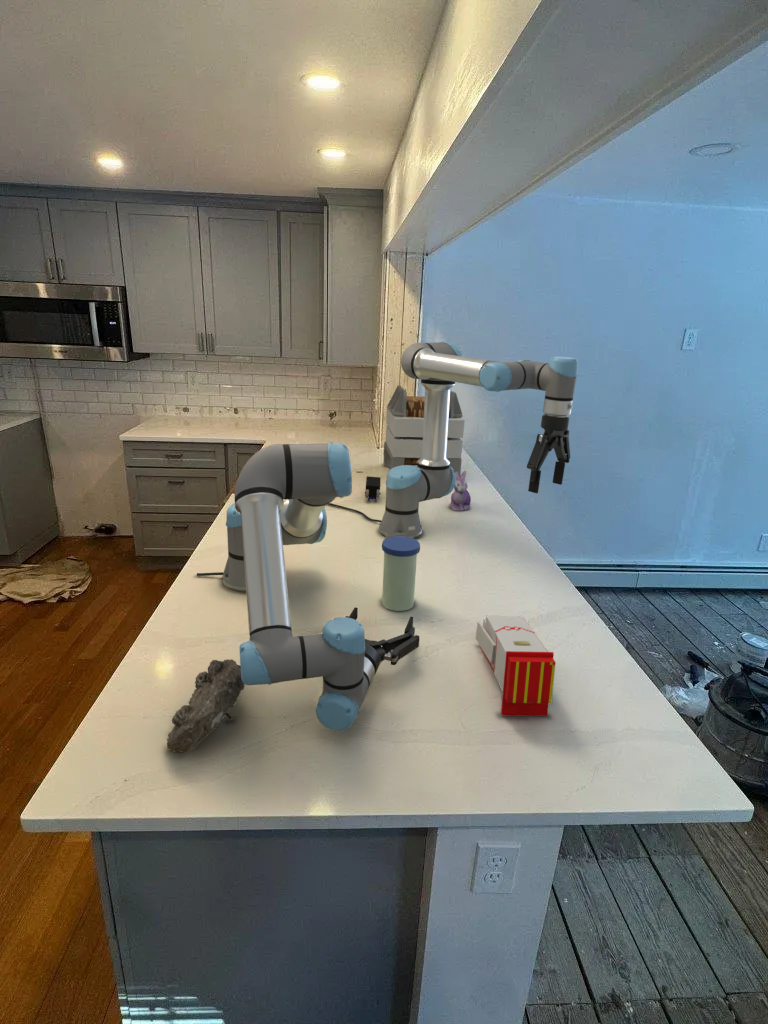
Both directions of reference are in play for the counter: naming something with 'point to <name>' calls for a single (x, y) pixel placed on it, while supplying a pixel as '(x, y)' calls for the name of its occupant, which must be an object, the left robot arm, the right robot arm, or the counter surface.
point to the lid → (400, 546)
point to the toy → (518, 664)
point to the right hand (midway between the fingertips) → (545, 487)
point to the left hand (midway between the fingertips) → (383, 616)
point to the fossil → (206, 705)
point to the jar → (398, 582)
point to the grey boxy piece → (418, 430)
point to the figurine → (460, 493)
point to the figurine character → (372, 488)
